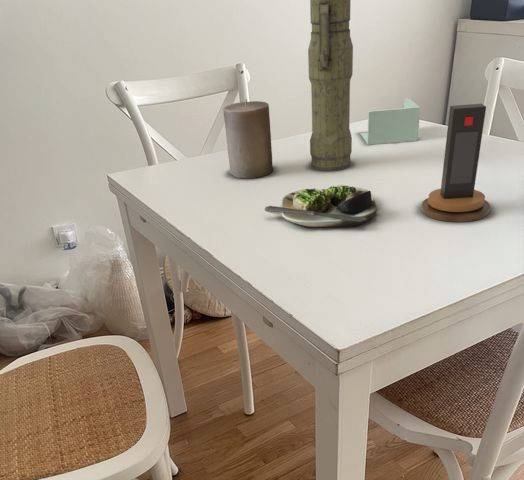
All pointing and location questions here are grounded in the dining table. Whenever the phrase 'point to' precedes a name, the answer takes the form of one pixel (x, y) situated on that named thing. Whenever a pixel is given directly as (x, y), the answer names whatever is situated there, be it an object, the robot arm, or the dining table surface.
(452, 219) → the swivel stand
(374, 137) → the right angle wall
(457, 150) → the slab on wooden base
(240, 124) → the pillar candle
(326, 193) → the salad plate
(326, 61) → the thermos
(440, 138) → the dining table surface
